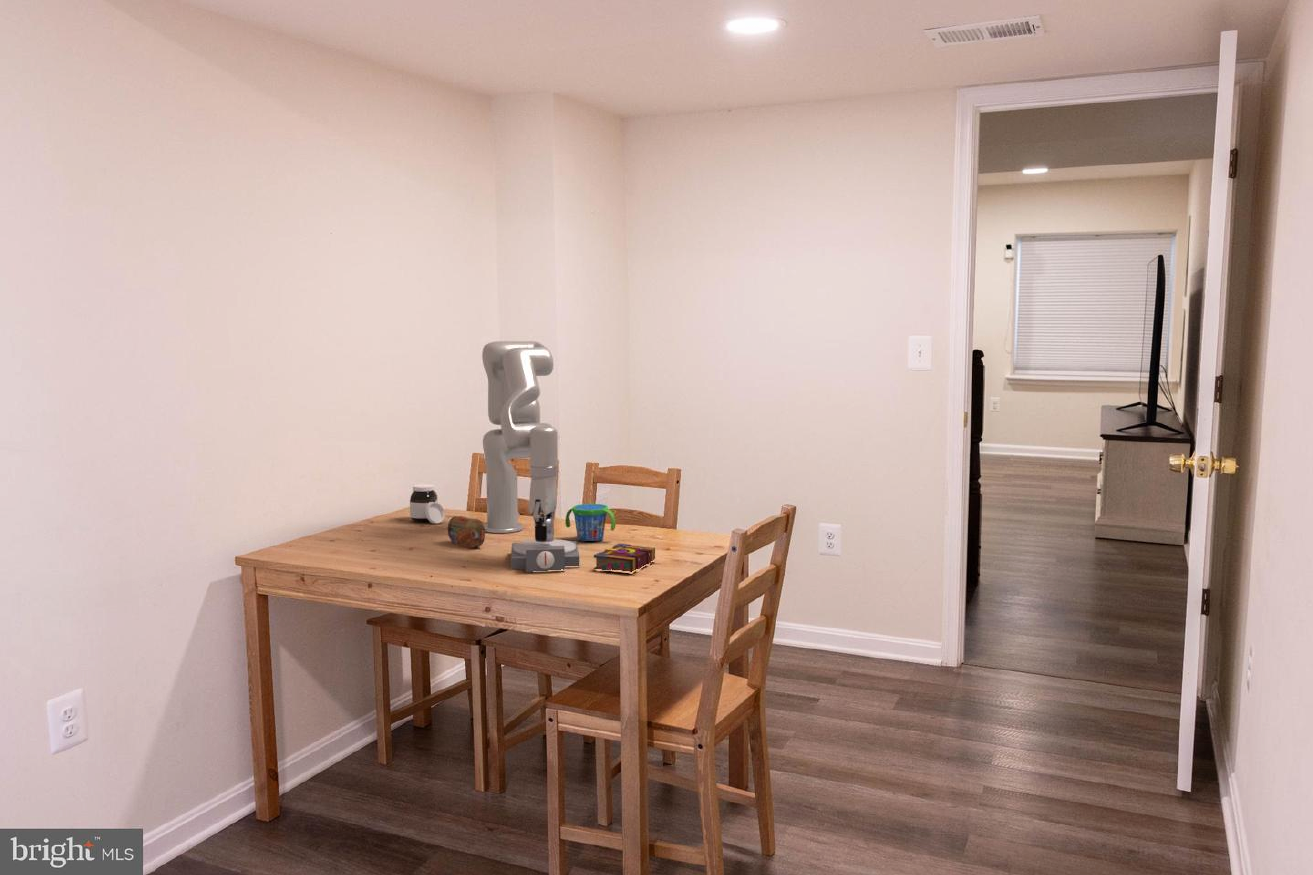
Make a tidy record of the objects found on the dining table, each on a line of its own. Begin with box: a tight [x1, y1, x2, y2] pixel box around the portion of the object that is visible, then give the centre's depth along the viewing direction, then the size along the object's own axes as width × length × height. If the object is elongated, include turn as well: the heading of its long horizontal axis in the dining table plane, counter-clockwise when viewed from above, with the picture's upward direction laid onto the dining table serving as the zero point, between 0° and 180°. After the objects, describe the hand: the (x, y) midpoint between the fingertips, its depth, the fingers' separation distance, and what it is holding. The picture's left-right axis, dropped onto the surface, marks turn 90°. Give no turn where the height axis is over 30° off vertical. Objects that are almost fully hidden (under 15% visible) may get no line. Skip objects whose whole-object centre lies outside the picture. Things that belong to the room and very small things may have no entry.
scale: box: [510, 538, 580, 572], centre depth 267 cm, size 22×18×6 cm
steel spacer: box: [534, 517, 555, 542], centre depth 269 cm, size 5×5×6 cm
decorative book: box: [593, 543, 656, 572], centre depth 262 cm, size 11×16×5 cm
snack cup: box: [564, 503, 617, 542], centre depth 294 cm, size 16×10×10 cm
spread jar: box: [409, 483, 446, 525], centre depth 320 cm, size 12×11×12 cm
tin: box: [447, 515, 486, 549], centre depth 287 cm, size 15×3×8 cm, turn 47°
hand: (544, 537), depth 269 cm, fingers closed on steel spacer, 5 cm apart
